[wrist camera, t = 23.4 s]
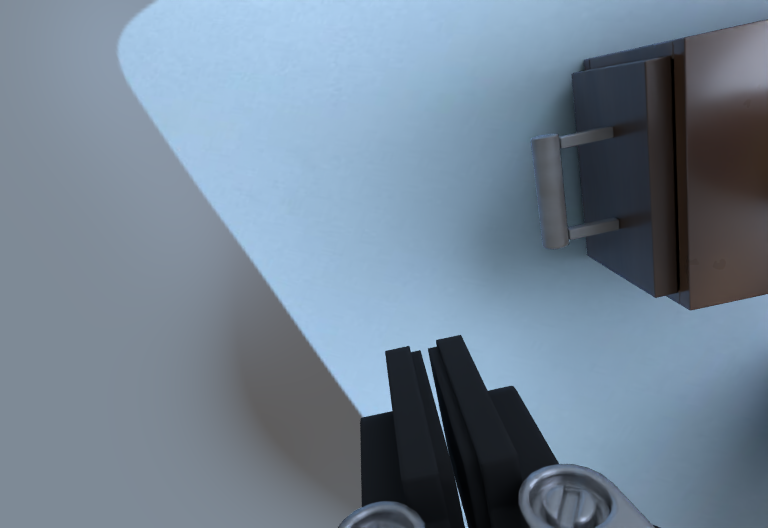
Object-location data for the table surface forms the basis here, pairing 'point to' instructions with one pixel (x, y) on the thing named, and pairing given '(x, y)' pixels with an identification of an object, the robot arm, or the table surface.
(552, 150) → the drawer
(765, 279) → the cabinet
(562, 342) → the table surface
